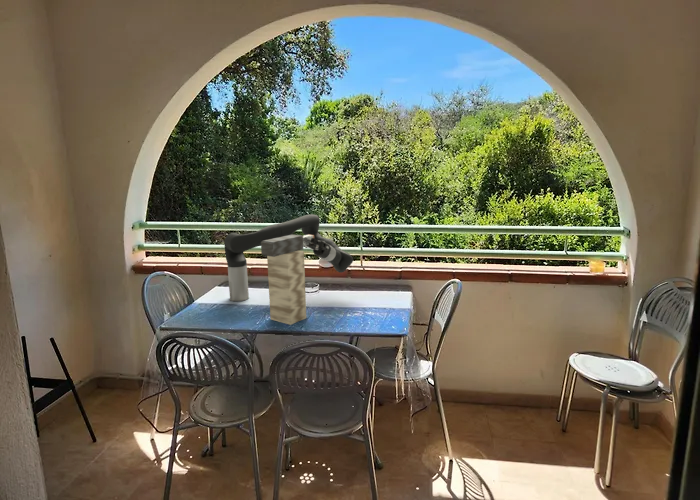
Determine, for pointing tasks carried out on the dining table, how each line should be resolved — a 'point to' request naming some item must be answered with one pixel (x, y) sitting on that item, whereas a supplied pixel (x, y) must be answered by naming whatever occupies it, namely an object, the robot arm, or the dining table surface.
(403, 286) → the dining table surface
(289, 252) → the stand
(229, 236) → the robot arm
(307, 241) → the light grey bar
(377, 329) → the dining table surface
